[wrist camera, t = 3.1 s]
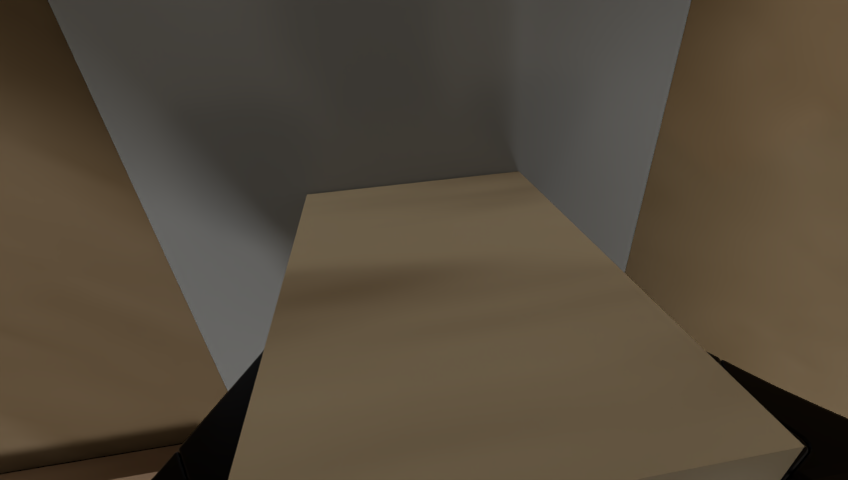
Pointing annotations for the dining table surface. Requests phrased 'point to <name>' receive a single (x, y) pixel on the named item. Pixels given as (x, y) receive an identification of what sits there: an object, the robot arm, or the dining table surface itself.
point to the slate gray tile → (363, 119)
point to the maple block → (484, 353)
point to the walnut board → (103, 467)
